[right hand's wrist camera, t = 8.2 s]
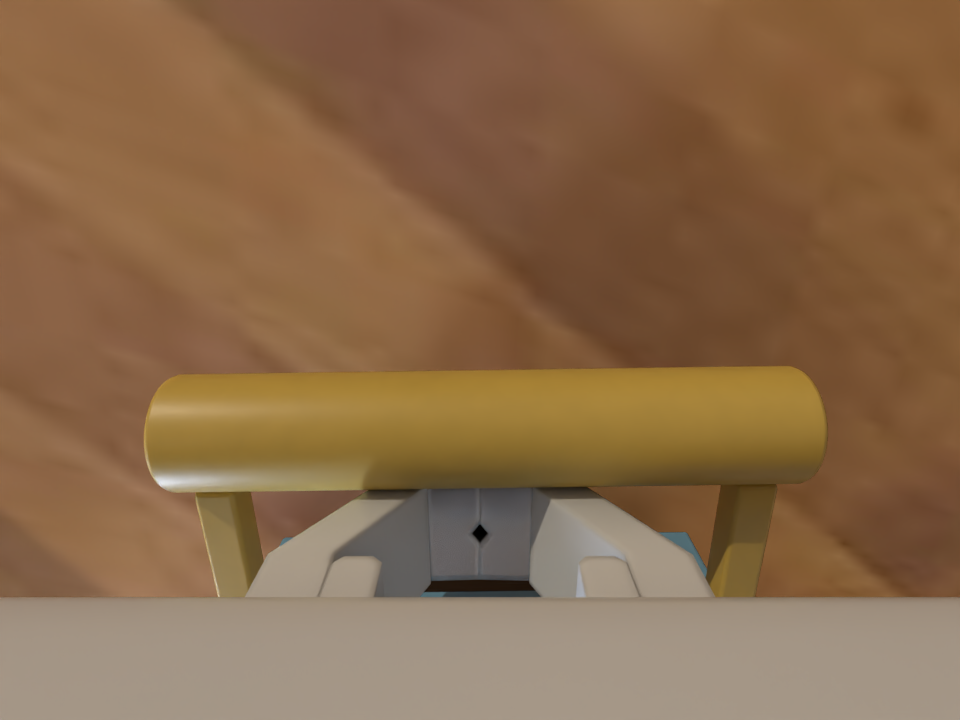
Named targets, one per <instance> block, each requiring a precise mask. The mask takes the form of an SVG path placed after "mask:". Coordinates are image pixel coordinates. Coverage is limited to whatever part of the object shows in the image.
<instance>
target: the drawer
mask: <svg viewBox="0 0 960 720" xmlns="http://www.w3.org/2000/svg"><path fill="white" fill-rule="evenodd" d="M827 439H828V427H827V418H826V412H825V408H824V404H823V401H822V398H821V396H820V393H819V391H818V389H817V387H816V386H815V384H814V383H813V381H812V380H811V379H810V378H809V376H808V375H807V374H805V373H804V372H803V371H801V370H799V369H797V368H794V367H791V366H739V367H668V368H597V369H527V370H456V371H385V372H315V373H244V374H182V375H177V376H174V377H172V378H170V379H168V380H167V381H165V382H164V383H163V384H162V385H161V386H160V387H159V389H158V390H157V392H156V393H155V395H154V397H153V399H152V401H151V403H150V406H149V409H148V412H147V416H146V421H145V428H144V450H145V457H146V462H147V465H148V468H149V471H150V473H151V475H152V477H153V479H154V480H155V481H156V483H157V484H158V485H159V486H161V487H162V488H164V489H166V490H168V491H170V492H174V493H176V492H196V494H195V500H196V504H197V508H198V513H199V517H200V521H201V526H202V530H203V534H204V539H205V543H206V547H207V552H208V556H209V560H210V565H211V569H212V573H213V578H214V582H215V586H216V591H217V595H218V597H245V595H246V594H247V592H248V590H249V588H250V586H251V584H252V583H253V581H254V579H255V577H256V575H257V573H258V571H259V570H260V568H261V566H262V564H263V562H264V561H263V555H262V550H261V545H260V540H259V534H258V529H257V524H256V518H255V513H254V508H253V502H252V497H251V492H250V491H320V490H391V489H463V488H535V487H607V486H679V485H721V488H720V494H719V500H718V506H717V512H716V518H715V525H714V531H713V537H712V543H711V549H710V555H709V561H708V567H707V568H706V566H705V564H704V563H703V561H702V559H701V557H700V555H699V554H698V552H697V550H696V548H695V546H694V544H693V543H692V541H691V539H690V537H689V535H688V534H687V533H686V532H658V533H660V534H661V535H663V536H664V537H666V538H667V539H669V540H671V541H672V542H674V543H675V544H677V545H678V546H680V547H682V548H683V549H685V550H686V551H688V552H689V553H691V554H693V556H694V558H695V560H696V562H697V563H698V565H699V567H700V569H701V571H702V573H703V575H704V576H705V578H706V580H707V582H708V584H709V586H710V588H711V590H712V591H713V593H714V595H715V597H755V594H756V590H757V585H758V580H759V575H760V570H761V565H762V561H763V556H764V551H765V546H766V541H767V537H768V532H769V527H770V522H771V517H772V512H773V508H774V503H775V498H776V493H777V486H776V484H799V483H803V482H805V481H807V480H809V479H811V478H812V477H813V476H814V475H815V474H816V473H817V472H818V470H819V468H820V467H821V465H822V462H823V460H824V456H825V453H826V448H827ZM292 538H294V537H291V538H284V539H283V540H282V542H281V544H280V546H281V545H283V544H284V543H286V542H288V541H289V540H291V539H292ZM280 546H279V547H280ZM420 597H540V595H539V594H538V593H537V592H536V591H535V589H534V588H533V587H532V586H531V585H530V583H529V581H516V580H480V579H479V580H443V581H431V584H430V585H429V586H428V588H427V589H426V590H425V591H424V592H423V594H422V595H421V596H420Z"/></svg>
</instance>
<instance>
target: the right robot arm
mask: <svg viewBox="0 0 960 720" xmlns="http://www.w3.org/2000/svg"><path fill="white" fill-rule="evenodd" d="M479 579H480V580H516V581H529V583H530V585H531V586H532V587H533V588H534V589H535V591H536V592H537V593H538V594H539V595H540V597H420V596H421V595H422V594H423V592H424V591H425V590H426V589H427V588H428V586H429V585H430V584H431V581H443V580H479ZM0 720H960V597H715V595H714V593H713V591H712V590H711V588H710V586H709V584H708V582H707V580H706V578H705V576H704V575H703V573H702V571H701V569H700V567H699V565H698V563H697V562H696V560H695V558H694V556H693V554H691V553H689V552H688V551H686V550H685V549H683V548H682V547H680V546H678V545H677V544H675V543H674V542H672V541H671V540H669V539H667V538H666V537H664V536H663V535H661V534H660V533H658V532H657V531H655V530H653V529H652V528H650V527H649V526H647V525H646V524H644V523H642V522H641V521H639V520H638V519H636V518H635V517H633V516H631V515H630V514H628V513H627V512H625V511H624V510H622V509H620V508H619V507H617V506H616V505H614V504H613V503H611V502H610V501H608V500H606V499H605V498H603V497H602V496H600V495H599V494H597V493H595V492H594V491H592V490H591V489H589V488H588V487H535V488H463V489H391V490H368V491H366V492H365V493H363V494H361V495H360V496H358V497H357V498H355V499H354V500H352V501H350V502H349V503H347V504H346V505H344V506H343V507H341V508H339V509H338V510H336V511H335V512H333V513H332V514H330V515H328V516H327V517H325V518H324V519H322V520H321V521H319V522H317V523H316V524H314V525H313V526H311V527H310V528H308V529H306V530H305V531H303V532H302V533H300V534H299V535H297V536H295V537H294V538H292V539H291V540H289V541H288V542H286V543H284V544H283V545H281V546H280V547H278V548H276V549H275V550H273V551H272V552H270V553H269V554H268V555H267V557H266V558H265V560H264V562H263V564H262V566H261V568H260V570H259V571H258V573H257V575H256V577H255V579H254V581H253V583H252V584H251V586H250V588H249V590H248V592H247V594H246V595H245V597H0Z"/></svg>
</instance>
